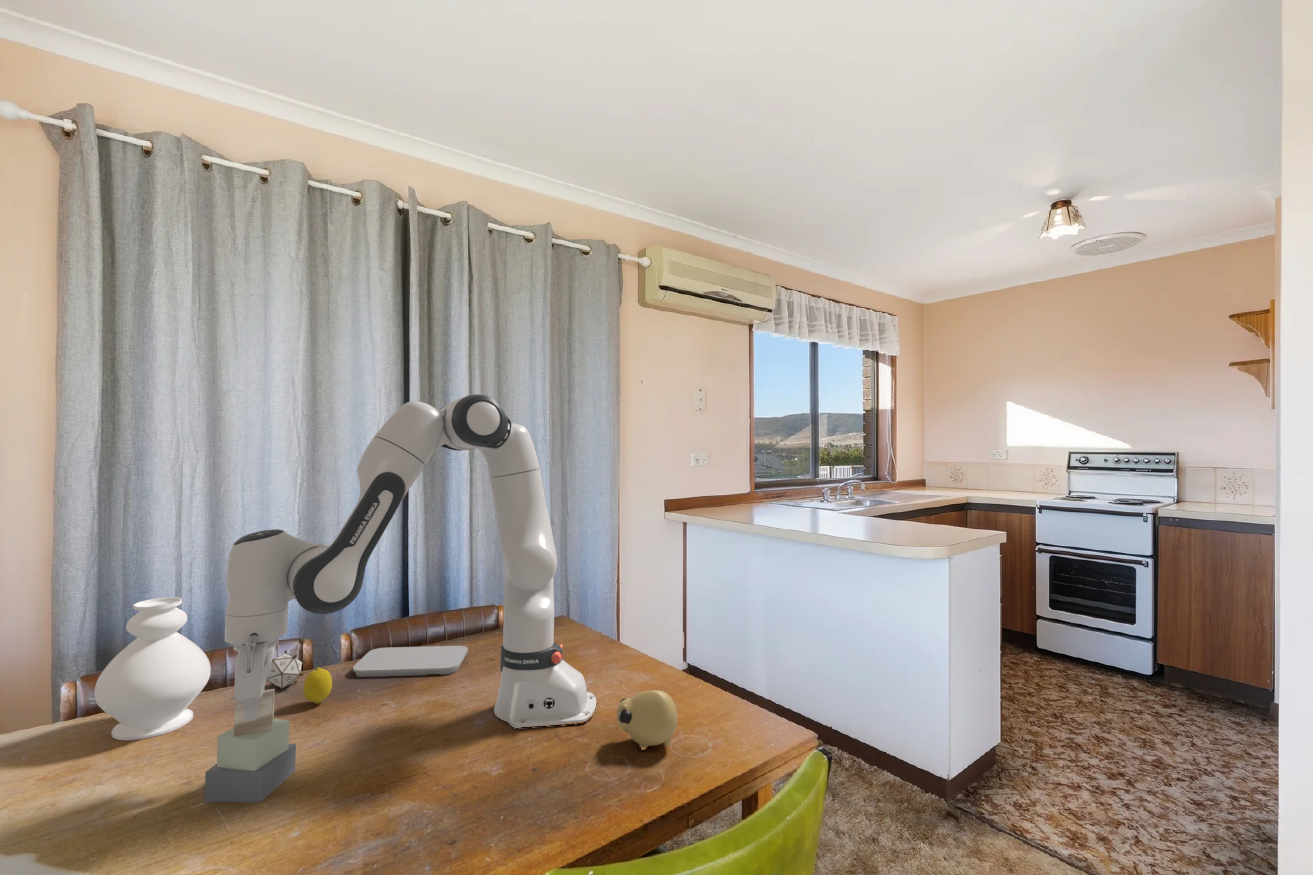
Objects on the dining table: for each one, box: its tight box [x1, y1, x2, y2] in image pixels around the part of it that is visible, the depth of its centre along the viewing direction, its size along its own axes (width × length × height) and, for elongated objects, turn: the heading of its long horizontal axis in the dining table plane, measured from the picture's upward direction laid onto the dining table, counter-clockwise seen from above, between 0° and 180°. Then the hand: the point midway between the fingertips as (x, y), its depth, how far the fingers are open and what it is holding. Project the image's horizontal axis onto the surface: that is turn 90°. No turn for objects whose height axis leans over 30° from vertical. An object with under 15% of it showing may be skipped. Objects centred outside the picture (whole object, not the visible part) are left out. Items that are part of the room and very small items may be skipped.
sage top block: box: [216, 718, 290, 771], centre depth 97 cm, size 7×7×5 cm
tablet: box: [352, 645, 469, 678], centre depth 151 cm, size 16×26×2 cm, turn 97°
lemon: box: [303, 667, 333, 705], centre depth 127 cm, size 6×6×8 cm
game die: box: [266, 649, 307, 693], centre depth 135 cm, size 9×8×10 cm
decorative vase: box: [93, 596, 212, 741], centre depth 117 cm, size 18×18×25 cm
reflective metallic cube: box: [233, 688, 276, 736], centre depth 97 cm, size 5×5×5 cm
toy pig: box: [616, 689, 678, 748], centre depth 113 cm, size 10×12×11 cm
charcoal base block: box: [204, 743, 297, 803], centre depth 97 cm, size 9×9×5 cm
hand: (254, 707), depth 97 cm, fingers open, 8 cm apart
